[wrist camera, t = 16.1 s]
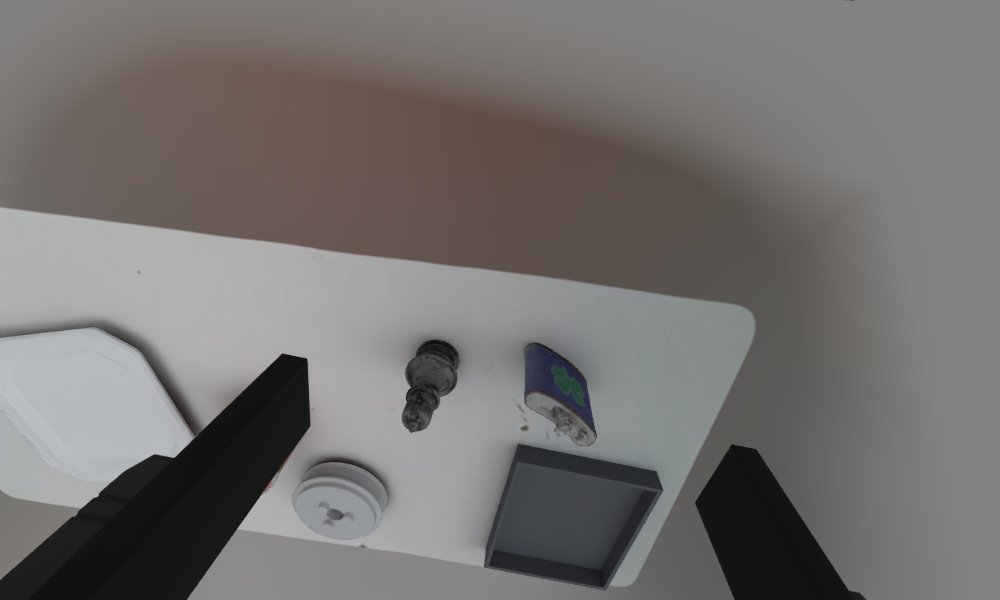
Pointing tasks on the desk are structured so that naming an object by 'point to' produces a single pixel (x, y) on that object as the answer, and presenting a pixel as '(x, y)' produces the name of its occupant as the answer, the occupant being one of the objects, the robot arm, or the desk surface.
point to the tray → (569, 517)
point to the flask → (558, 393)
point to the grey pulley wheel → (340, 501)
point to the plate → (88, 402)
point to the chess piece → (428, 382)
